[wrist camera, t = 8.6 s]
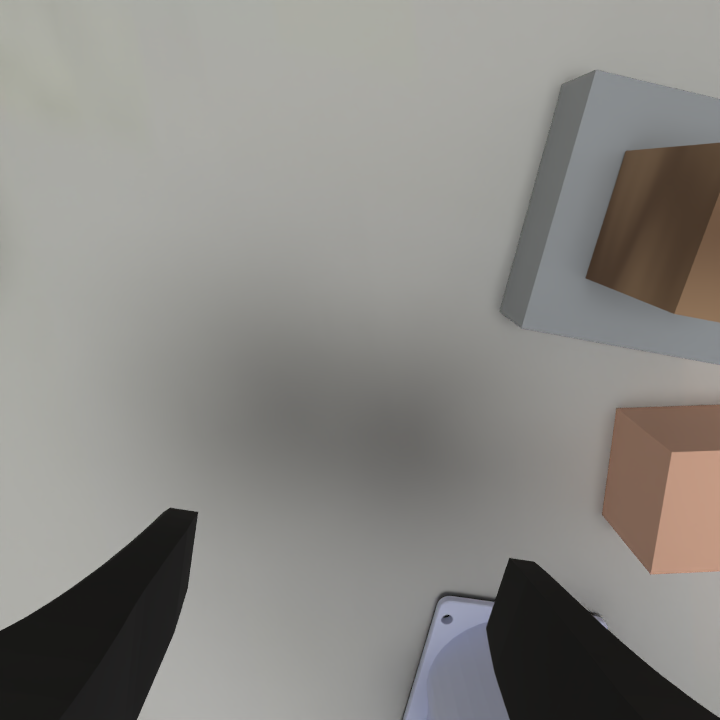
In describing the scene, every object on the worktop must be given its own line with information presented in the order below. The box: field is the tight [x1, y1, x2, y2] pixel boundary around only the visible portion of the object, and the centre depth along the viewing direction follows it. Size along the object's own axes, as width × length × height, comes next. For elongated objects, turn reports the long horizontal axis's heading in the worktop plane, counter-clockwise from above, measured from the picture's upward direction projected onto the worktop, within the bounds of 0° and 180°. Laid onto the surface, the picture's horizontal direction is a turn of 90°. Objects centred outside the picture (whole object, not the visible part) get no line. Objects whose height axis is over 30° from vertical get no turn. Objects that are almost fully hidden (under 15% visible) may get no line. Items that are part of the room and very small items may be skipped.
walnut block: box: [586, 143, 720, 323], centre depth 15 cm, size 4×4×5 cm
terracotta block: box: [602, 405, 720, 574], centre depth 22 cm, size 5×5×4 cm
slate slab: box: [500, 70, 720, 365], centre depth 19 cm, size 8×8×3 cm
